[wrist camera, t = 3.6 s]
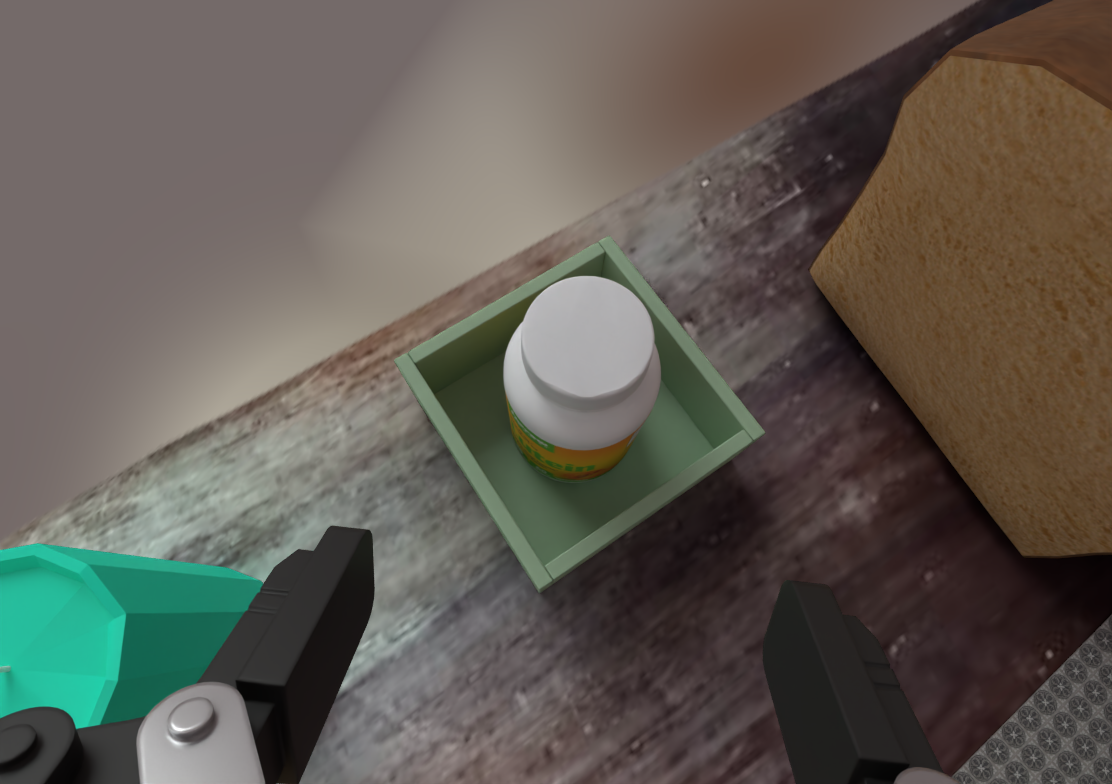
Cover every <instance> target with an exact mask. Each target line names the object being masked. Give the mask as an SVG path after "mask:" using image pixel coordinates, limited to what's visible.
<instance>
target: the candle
mask: <svg viewBox="0 0 1112 784" xmlns="http://www.w3.org/2000/svg"><path fill="white" fill-rule="evenodd" d="M262 585H263V583H262V582H261V581H260V580H258V579H255V578H252V577H250V576H247V575H245V574H242V573H239V572H237V571H234V570H232V569H229V568H226V567H218V566H210V565H202V564H195V563H187V562H179V561H171V560H163V559H156V558H148V557H140V556H132V555H124V554H117V553H109V552H101V551H93V550H85V549H78V548H70V547H62V546H54V545H46V544H38V543H37V544H31V545H26V546H20V547H15V548H9V549H4V550H0V718H2V717H4V716H7V715H9V714H11V713H14V712H17V711H20V710H24V709H28V708H33V707H56V708H59V709H62V710H64V711H66V712H67V713H68V714H69V715H70V716H71V717H72V718H73V721H74V724H75V727H76V729H78V728H84V727H90V726H96V725H102V724H108V723H114V722H120V721H126V720H131V719H136V718H140V717H143V716H146V715H147V714H148V713H149V712H150V711H151V710H152V709H153V708H154V707H155V706H156V705H157V704H158V703H159V702H160V701H162V700H163V699H164V698H166V697H167V696H169V695H170V694H172V693H174V692H176V691H178V690H180V689H182V688H184V687H187V686H190V685H193V684H196V683H197V681H198V680H199V679H200V678H201V676H202V675H203V673H204V672H205V670H206V669H207V667H208V666H209V664H210V663H211V661H212V660H213V658H214V657H215V655H216V654H217V652H218V651H219V649H220V648H221V646H222V645H223V643H224V642H225V640H226V639H227V637H228V636H229V634H230V633H231V631H232V630H233V628H234V627H235V625H236V624H237V622H238V621H239V619H240V618H241V617H242V615H243V614H244V612H245V611H247V610H248V608H249V605H250V603H251V602H252V600H253V599H254V597H255V596H256V594H257V593H259V592H260V589H261V587H262Z"/></svg>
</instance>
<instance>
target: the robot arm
mask: <svg viewBox="0 0 1112 784" xmlns="http://www.w3.org/2000/svg"><path fill="white" fill-rule="evenodd" d="M374 591H375V587H374V563H373V540H372V533H371V531H370V530H365V529H357V528H348V527H340V526H330V527H329V528H328V529H327V531H326V532H325V534H324V535H323V537H322V539H321V540H320V542H319V544H318V545H317V547H316V549H315V550H314V551H309V550H300V549H298V550H297V551H295V552H294V553H293V554H291V555H290V556H289V557H287V558H286V559H284V560H283V561H282V562H280V563H279V564H278V565H276V566H275V567H274V569H273V570H272V572H271V573H270V575H269V576H268V578H267V579H266V581H265V582H264V584H263V585H262V587H261V589H260V592H259V593H257V594H256V596H255V597H254V599H253V600H252V602H251V603H250V605H249V608H248V610H247V611H245V612H244V614H243V615H242V617H241V618H240V619H239V621H238V622H237V624H236V625H235V627H234V628H233V630H232V631H231V633H230V634H229V636H228V637H227V639H226V640H225V642H224V643H223V645H222V646H221V648H220V649H219V651H218V652H217V654H216V655H215V657H214V658H213V660H212V661H211V663H210V664H209V666H208V667H207V669H206V670H205V672H204V673H203V675H202V676H201V678H200V679H199V680H198V681H197V683H196V684H193V685H190V686H187V687H184V688H182V689H180V690H178V691H176V692H174V693H172V694H170V695H169V696H167V697H166V698H164V699H163V700H162V701H160V702H159V703H158V704H157V705H156V706H155V707H154V708H153V709H152V710H151V711H150V712H149V713H148V714H147V715H146V716H143V717H140V718H136V719H131V720H126V721H120V722H114V723H108V724H102V725H96V726H90V727H84V728H78V729H76V727H75V724H74V721H73V718H72V717H71V716H70V715H69V714H68V713H67V712H66V711H64V710H62V709H59V708H56V707H33V708H28V709H24V710H20V711H17V712H14V713H11V714H9V715H7V716H4V717H2V718H0V784H276V783H283V784H299V782H300V780H301V777H302V775H303V773H304V770H305V768H306V766H307V763H308V761H309V759H310V756H311V754H312V752H313V749H314V747H315V745H316V742H317V740H318V738H319V735H320V733H321V731H322V728H323V726H324V724H325V721H326V719H327V717H328V714H329V712H330V710H331V707H332V705H333V703H334V700H335V698H336V696H337V693H338V691H339V689H340V687H341V684H342V682H343V680H344V677H345V675H346V673H347V670H348V668H349V666H350V663H351V661H352V659H353V656H354V654H355V652H356V649H357V647H358V645H359V642H360V640H361V638H362V635H363V633H364V631H365V628H366V626H367V624H368V621H369V618H370V615H371V611H372V607H373V601H374ZM763 665H764V670H765V674H766V678H767V682H768V685H769V689H770V692H771V696H772V700H773V703H774V707H775V710H776V714H777V718H778V721H779V725H780V728H781V732H782V736H783V739H784V743H785V747H786V750H787V754H788V757H789V761H790V765H791V768H792V772H793V775H794V779H795V783H796V784H961V783H960V782H958V781H957V780H955V779H953V778H952V777H950V776H948V775H946V774H944V772H943V770H942V769H941V767H940V765H939V763H938V761H937V759H936V757H935V754H934V752H933V750H932V748H931V746H930V744H929V742H928V740H927V738H926V736H925V734H924V732H923V730H922V728H921V726H920V724H919V722H918V720H917V718H916V716H915V714H914V712H913V710H912V708H911V706H910V704H909V702H908V700H907V698H906V696H905V694H904V692H903V691H901V690H900V684H899V682H898V680H897V678H896V676H895V674H894V672H893V670H892V669H890V664H889V662H888V660H887V658H886V656H885V654H884V652H883V650H882V647H881V645H880V643H879V641H878V639H877V638H876V637H875V636H874V635H873V634H872V633H871V632H870V631H869V630H868V629H867V628H866V627H865V626H864V625H863V624H862V622H861V621H860V620H859V619H858V618H857V617H856V616H850V615H842V612H841V610H840V608H839V606H838V604H837V601H836V599H835V597H834V595H833V592H832V591H831V589H830V588H829V586H827V585H825V584H816V583H808V582H799V581H791V580H786V581H785V582H784V583H783V584H782V586H781V589H780V592H779V595H778V598H777V601H776V604H775V607H774V610H773V613H772V616H771V619H770V622H769V625H768V628H767V631H766V634H765V638H764V643H763Z"/></svg>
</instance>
